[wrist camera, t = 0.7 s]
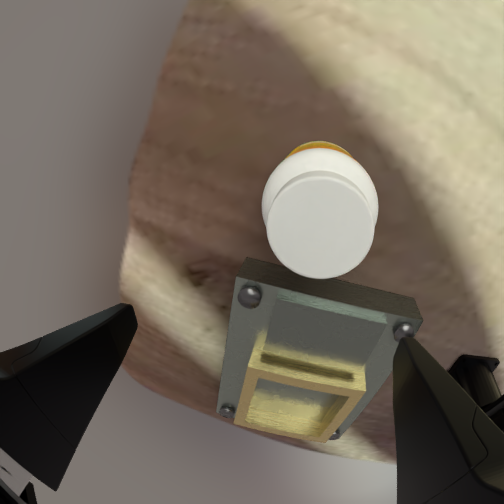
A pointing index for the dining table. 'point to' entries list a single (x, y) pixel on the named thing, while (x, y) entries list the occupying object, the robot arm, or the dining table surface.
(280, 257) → the supplement bottle
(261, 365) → the grey fixture plate
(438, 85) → the dining table surface
